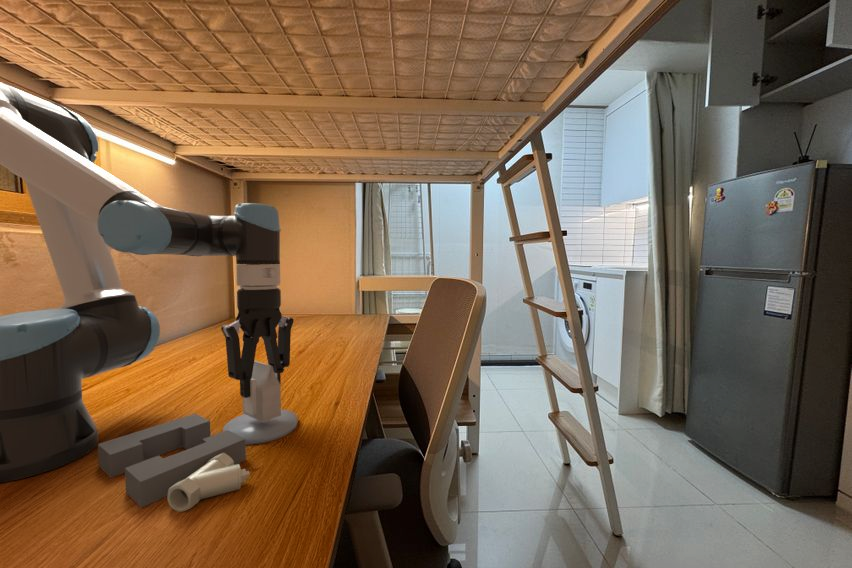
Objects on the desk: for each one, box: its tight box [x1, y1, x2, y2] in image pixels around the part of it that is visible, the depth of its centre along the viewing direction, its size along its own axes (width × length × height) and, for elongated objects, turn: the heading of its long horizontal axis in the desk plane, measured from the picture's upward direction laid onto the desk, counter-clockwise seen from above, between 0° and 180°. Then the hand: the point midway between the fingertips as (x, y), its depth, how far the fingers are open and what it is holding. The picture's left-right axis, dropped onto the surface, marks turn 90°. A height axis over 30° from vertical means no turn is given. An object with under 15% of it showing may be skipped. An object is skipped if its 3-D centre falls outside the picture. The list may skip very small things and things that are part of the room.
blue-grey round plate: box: [222, 408, 298, 446], centre depth 70 cm, size 13×13×1 cm
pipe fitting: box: [166, 453, 250, 513], centre depth 50 cm, size 8×4×7 cm
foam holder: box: [97, 413, 247, 509], centre depth 58 cm, size 17×14×4 cm
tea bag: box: [242, 360, 282, 422], centre depth 70 cm, size 4×7×10 cm, turn 55°
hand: (261, 408), depth 70 cm, fingers closed on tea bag, 4 cm apart
